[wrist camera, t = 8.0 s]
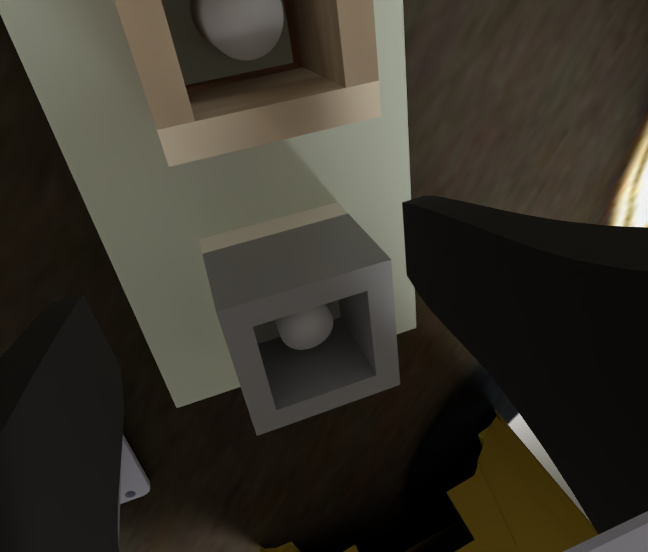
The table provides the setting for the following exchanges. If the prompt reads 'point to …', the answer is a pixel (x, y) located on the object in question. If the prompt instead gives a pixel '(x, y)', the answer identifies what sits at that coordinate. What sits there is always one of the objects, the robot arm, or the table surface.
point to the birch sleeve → (259, 81)
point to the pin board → (208, 165)
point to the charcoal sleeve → (298, 295)
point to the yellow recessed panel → (501, 505)
